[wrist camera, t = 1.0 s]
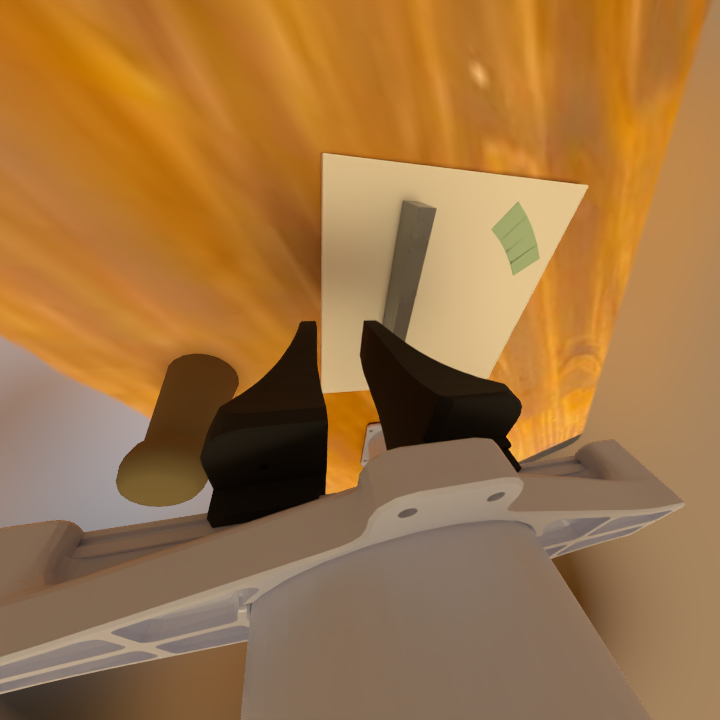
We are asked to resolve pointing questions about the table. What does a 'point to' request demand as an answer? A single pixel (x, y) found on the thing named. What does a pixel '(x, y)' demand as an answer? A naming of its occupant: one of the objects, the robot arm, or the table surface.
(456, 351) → the dial board
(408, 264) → the pointer
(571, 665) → the robot arm
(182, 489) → the cork
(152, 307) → the table surface
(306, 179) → the table surface
